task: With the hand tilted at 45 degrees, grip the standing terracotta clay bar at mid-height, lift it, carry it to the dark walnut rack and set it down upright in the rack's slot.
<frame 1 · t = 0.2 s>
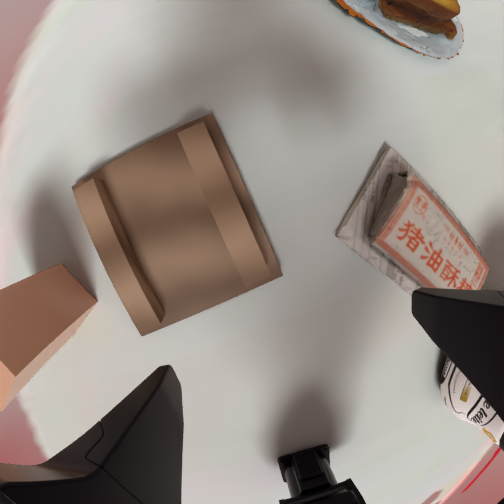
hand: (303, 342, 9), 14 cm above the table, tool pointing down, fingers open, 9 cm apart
packaged product: (417, 242, 25), on the table
clay bar: (66, 300, 22), on the table
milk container: (470, 348, 29), on the table
rack: (172, 227, 22), on the table
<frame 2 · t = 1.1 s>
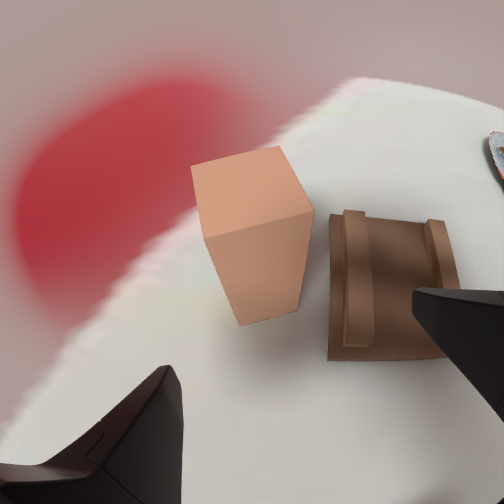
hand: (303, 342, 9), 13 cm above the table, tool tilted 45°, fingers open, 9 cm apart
clay bar: (260, 292, 24), on the table
rack: (396, 286, 23), on the table
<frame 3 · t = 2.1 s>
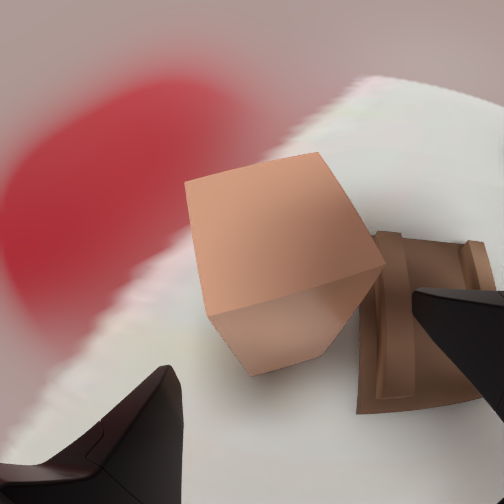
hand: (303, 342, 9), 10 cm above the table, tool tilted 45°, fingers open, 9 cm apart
clay bar: (276, 334, 19), on the table
rack: (432, 320, 18), on the table
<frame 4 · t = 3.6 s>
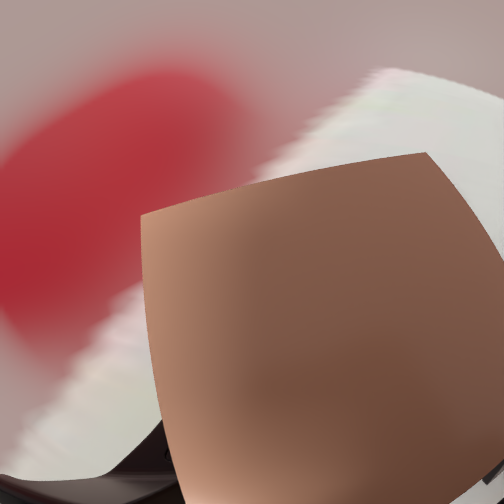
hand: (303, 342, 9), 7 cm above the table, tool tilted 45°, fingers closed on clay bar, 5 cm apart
clay bar: (299, 392, 14), on the table, touching gripper
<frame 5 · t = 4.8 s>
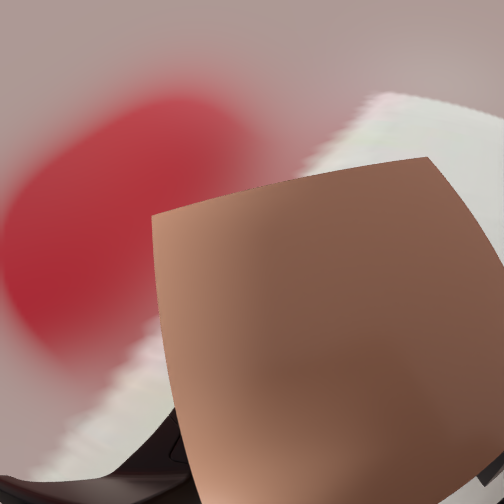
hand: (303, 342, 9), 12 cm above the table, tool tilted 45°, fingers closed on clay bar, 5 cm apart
clay bar: (299, 391, 14), point 6 cm above the table, touching gripper
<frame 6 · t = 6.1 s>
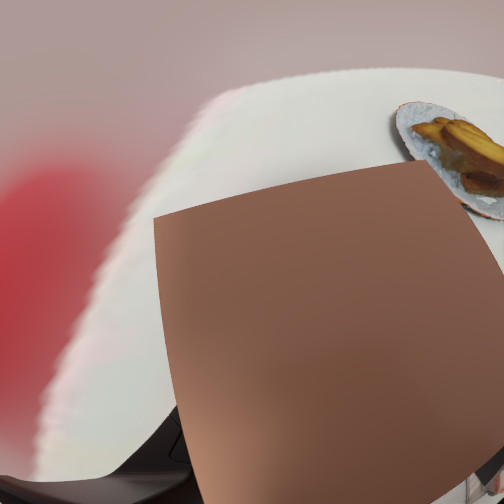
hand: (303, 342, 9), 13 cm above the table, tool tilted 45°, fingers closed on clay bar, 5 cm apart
packaged product: (493, 411, 16), on the table
clay bar: (298, 391, 14), point 6 cm above the table, touching gripper
food on plate: (459, 162, 33), on the table
when the fingers open (9 cm above the table, at t = 7.4 s): clay bar stays where it is, resting on rack.
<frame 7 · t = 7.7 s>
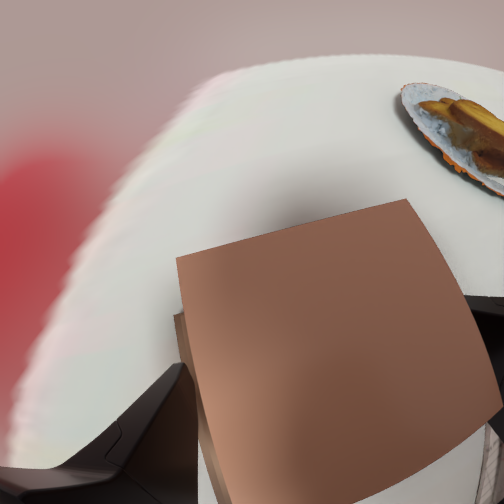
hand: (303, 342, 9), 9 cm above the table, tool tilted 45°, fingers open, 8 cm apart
clay bar: (297, 392, 15), point 1 cm above the table, touching rack
food on plate: (468, 143, 29), on the table
rack: (296, 393, 16), on the table
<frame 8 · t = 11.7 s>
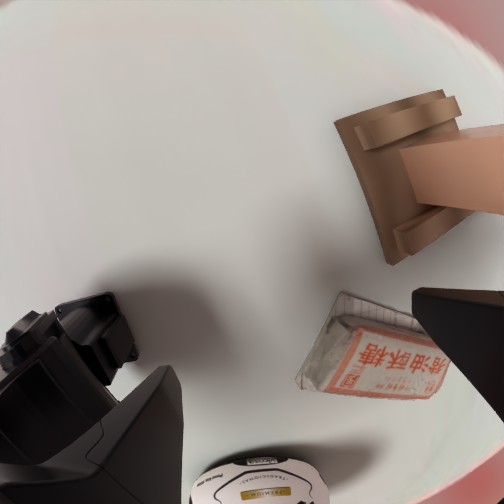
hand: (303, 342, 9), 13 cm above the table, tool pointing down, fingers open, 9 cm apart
packaged product: (381, 353, 26), on the table
clay bar: (426, 167, 21), point 1 cm above the table, touching rack
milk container: (254, 478, 28), on the table
rack: (419, 167, 22), on the table
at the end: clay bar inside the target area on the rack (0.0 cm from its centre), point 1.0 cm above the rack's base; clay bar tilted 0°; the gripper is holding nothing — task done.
